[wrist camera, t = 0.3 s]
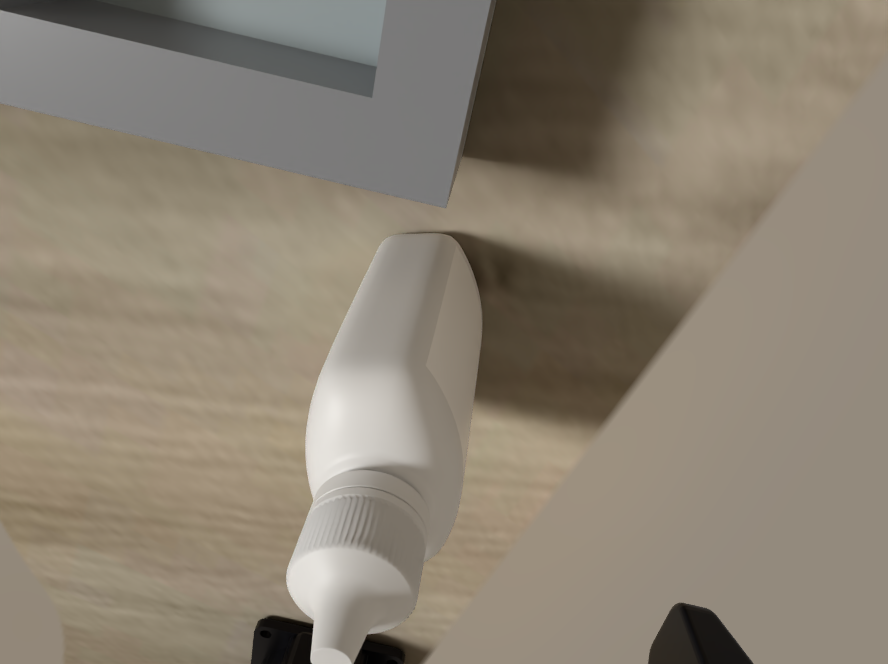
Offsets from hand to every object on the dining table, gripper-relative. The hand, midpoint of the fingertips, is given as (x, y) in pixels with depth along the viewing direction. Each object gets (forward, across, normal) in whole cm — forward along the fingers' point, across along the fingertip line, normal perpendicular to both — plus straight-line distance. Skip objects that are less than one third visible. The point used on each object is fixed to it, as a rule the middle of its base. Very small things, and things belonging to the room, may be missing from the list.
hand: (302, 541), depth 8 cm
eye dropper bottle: (+14, 0, +4) cm, 14 cm away
